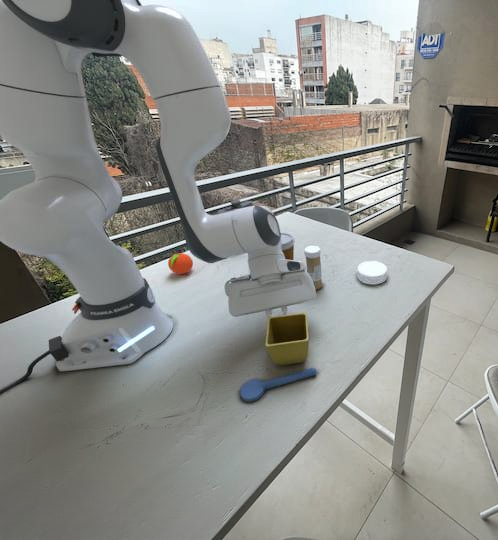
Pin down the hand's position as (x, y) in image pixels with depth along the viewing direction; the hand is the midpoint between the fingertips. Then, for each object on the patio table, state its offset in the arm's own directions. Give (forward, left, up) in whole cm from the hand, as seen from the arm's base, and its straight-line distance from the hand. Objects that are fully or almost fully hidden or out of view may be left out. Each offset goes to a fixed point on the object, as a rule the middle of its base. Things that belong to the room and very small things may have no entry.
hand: (279, 327), depth 67 cm
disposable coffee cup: (+5, +33, -5) cm, 34 cm away
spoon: (-3, -12, -5) cm, 13 cm away
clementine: (-27, +42, -5) cm, 50 cm away
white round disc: (+32, +19, -5) cm, 38 cm away
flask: (-7, +57, -5) cm, 58 cm away
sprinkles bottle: (+13, +20, -5) cm, 24 cm away
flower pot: (+2, -5, -5) cm, 8 cm away
